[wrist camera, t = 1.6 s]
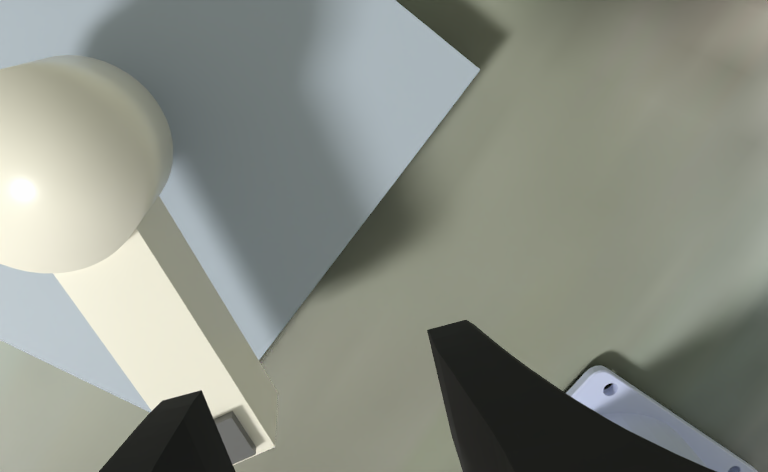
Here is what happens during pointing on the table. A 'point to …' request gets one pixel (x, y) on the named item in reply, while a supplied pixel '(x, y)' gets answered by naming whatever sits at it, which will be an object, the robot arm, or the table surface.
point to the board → (244, 143)
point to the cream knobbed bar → (121, 239)
